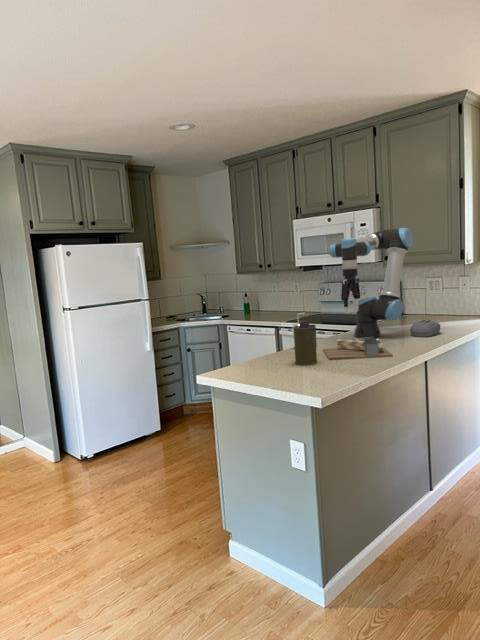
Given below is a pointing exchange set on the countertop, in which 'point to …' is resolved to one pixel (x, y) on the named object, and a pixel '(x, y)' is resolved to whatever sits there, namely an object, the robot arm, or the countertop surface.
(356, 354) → the base plate
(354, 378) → the countertop surface
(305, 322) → the canister
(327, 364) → the countertop surface
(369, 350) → the block
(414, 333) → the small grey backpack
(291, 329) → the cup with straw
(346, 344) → the link
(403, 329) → the countertop surface
